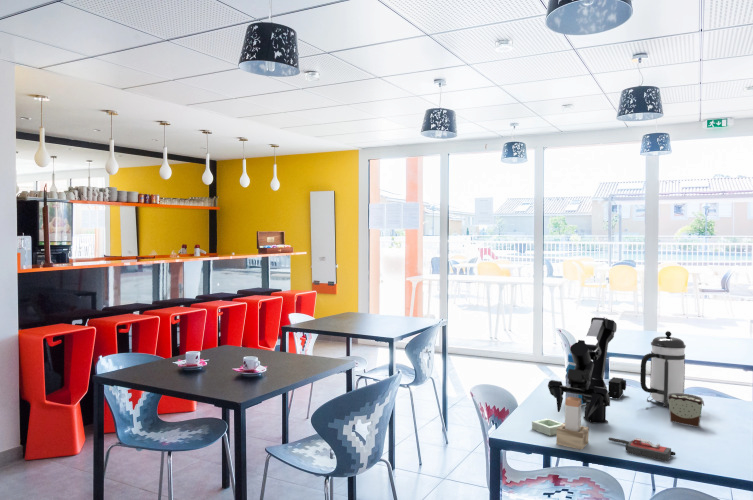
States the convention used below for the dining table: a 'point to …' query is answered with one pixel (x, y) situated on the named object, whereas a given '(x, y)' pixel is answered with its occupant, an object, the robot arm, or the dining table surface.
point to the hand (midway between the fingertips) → (572, 413)
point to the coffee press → (664, 368)
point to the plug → (573, 414)
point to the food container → (685, 408)
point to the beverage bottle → (570, 366)
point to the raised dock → (572, 437)
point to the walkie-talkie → (646, 449)
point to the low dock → (546, 426)
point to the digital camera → (616, 387)
